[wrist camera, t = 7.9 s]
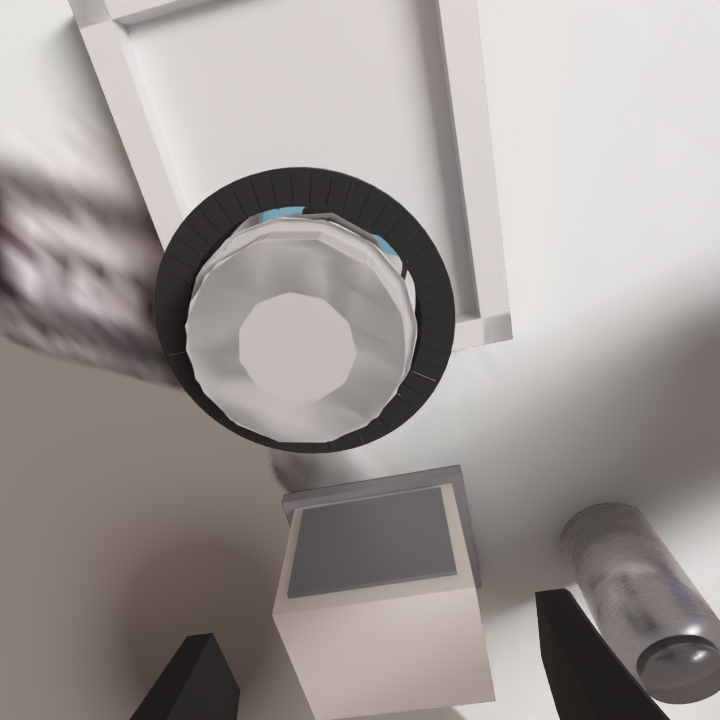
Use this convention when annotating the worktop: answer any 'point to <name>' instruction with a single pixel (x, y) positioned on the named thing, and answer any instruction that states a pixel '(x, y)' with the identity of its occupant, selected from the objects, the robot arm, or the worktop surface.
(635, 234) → the worktop surface
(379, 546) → the panel
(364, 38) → the tray
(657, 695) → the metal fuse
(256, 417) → the push button
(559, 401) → the worktop surface
